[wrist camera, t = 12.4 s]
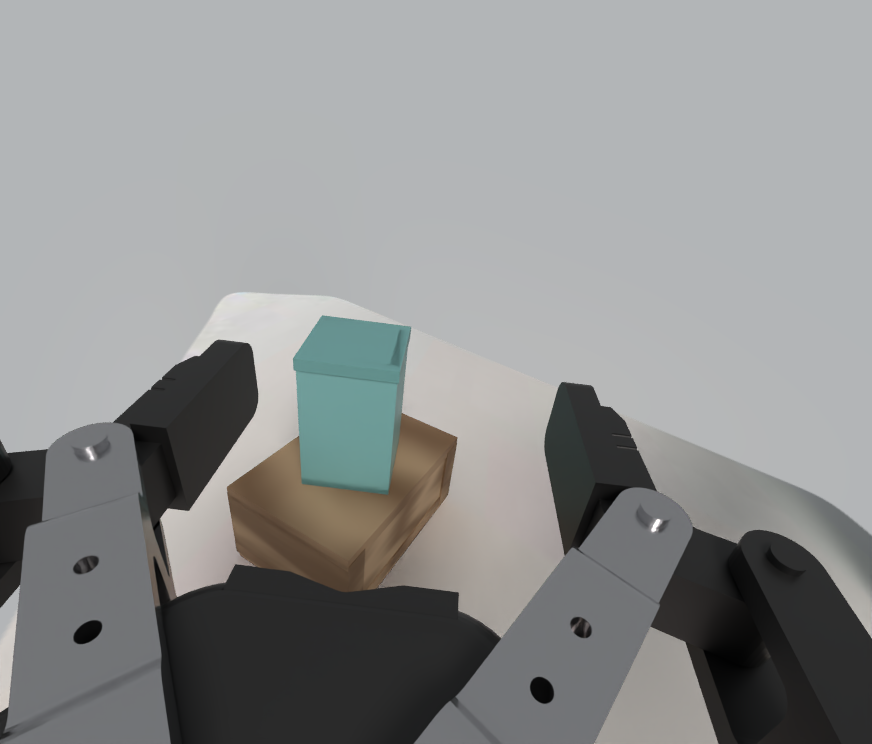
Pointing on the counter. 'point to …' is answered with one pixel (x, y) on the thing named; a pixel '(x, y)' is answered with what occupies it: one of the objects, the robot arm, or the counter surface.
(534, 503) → the counter surface
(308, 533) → the wooden crate
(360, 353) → the teal lidded bin
